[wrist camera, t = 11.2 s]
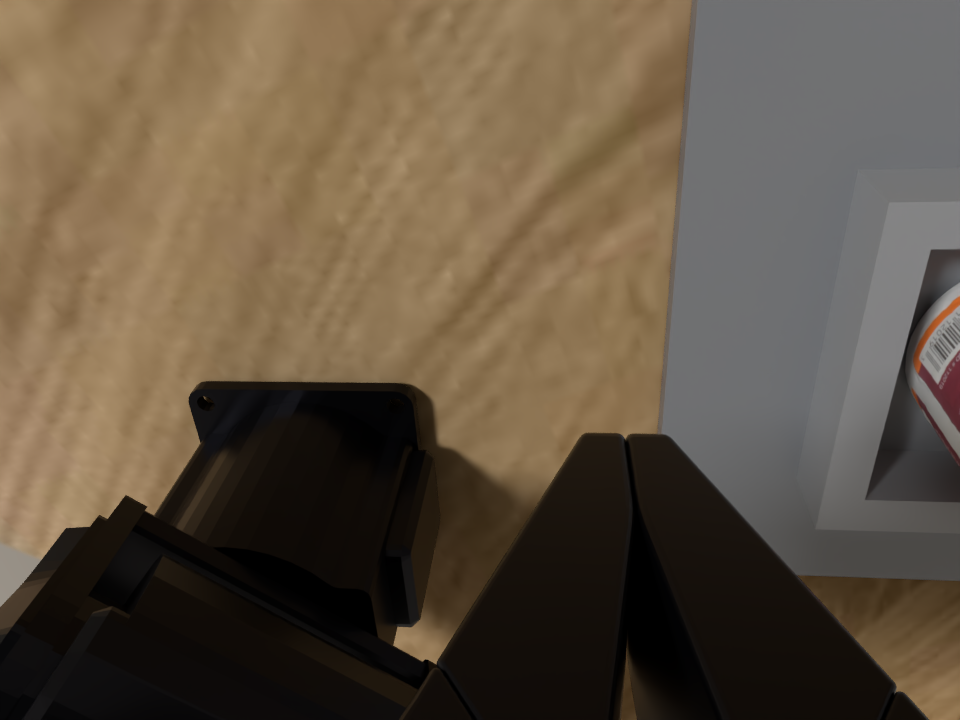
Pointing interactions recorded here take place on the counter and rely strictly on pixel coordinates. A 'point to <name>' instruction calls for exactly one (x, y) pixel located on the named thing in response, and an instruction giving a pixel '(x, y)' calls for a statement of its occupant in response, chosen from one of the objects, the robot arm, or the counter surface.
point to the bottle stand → (817, 275)
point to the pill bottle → (938, 368)
